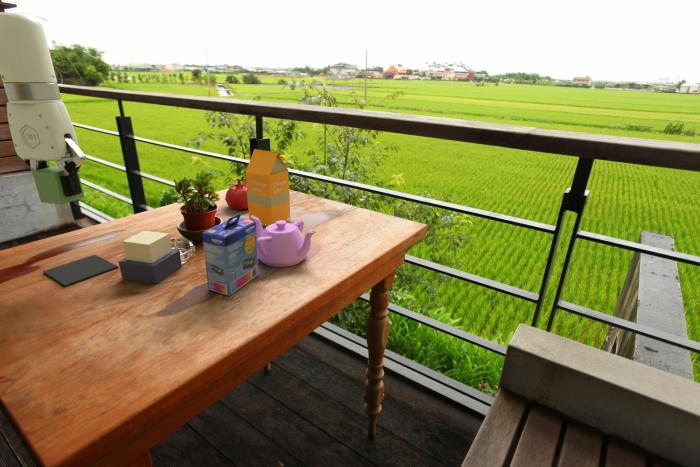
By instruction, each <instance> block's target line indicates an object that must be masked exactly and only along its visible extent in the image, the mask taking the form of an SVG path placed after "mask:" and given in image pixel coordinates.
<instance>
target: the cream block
mask: <svg viewBox="0 0 700 467" xmlns="http://www.w3.org/2000/svg"><path fill="white" fill-rule="evenodd" d="M122 246H123V250H124V256H125V257H126V260H132V261H139V262H146V263H154V262H155V261H157V260H159V259H160V258H162V257H163V256H165V255H167V254H168V253H170V252H172V249H173V248H172V242H171V235H170V233H168V232H159V231H153V230H152V231H150V230H142V231H141V232H139V233H136V234H135V235H132V236H130V237H128V238H126V239H124V240H122Z"/></svg>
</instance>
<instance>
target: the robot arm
mask: <svg viewBox="0 0 700 467" xmlns="http://www.w3.org/2000/svg"><path fill="white" fill-rule="evenodd" d="M46 36H47V35H46V33H45V29H44V25H43V24H42V22H41V21H40V20H39V18H37V17H35V16H32V15H30V14H24V13H17V12H5V11H4V12H3V11H2V12H1V11H0V77H1V81H2V84H3V87H4V91H5V94H6V98H7V100H8V101H6V114H7V122H8V127H9V131H10V136H11V140H12V144H13V147H14V149H15V153H16V155H17V156H18V157H19V158H20V159H21V160H23V161H24V162H25V164H26V165H27V166H28V167H29V168H30V172H31V173H32V171H36V170H40V169H45V168H49V167H50V162H55V163H56V166H58V167H59V169H60V171H61V173H62V175H63V176H60V179H61V183H62V187H63V190H64V194H65V196H66V197H71V196H74V195H77V194H80V193H82V190H81V186H80V182H79V178H78V174H77V173H79V174H80V169H81V167H82V165H83V163H84V162H85V161H86V160H87V156H86V154H85V153H84V152H83V151H82V150H81V148H80V147H79V141H78V138H77V133H76V130H75V128H74V125H73V122H72V119H71V116H70V114H69V111H68V109H67V107H66V104H65V103H64V101H63V99H62V95H61V93H60V92H61V91H60V88H59V85H58V79H57V76H56V72H55V68H54V64H53V60H52V56H51V52H50V48H49V44H48V40H47V37H46ZM65 162H67V164H66V163H65Z"/></svg>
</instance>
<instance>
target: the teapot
mask: <svg viewBox="0 0 700 467" xmlns="http://www.w3.org/2000/svg"><path fill="white" fill-rule="evenodd" d="M251 217H252V218H253V220H254V221H256V236H257V259H258V260H259V261H260V262H262V263H263V264H264V265H265V266H266V265H267V266H268V267H273V268H288V267H293V266H296V265H297V264H299V263H301V262H302V261H303V260H304V259H305V258H306V257H307V255H308V253H309V252H310V251H311V247H312V246H311V245H312V244H311V243H312V241H311V240H312V236H313V235H314V234H315V233H317V230H316V231H315V230H312V231H310V230H309V231H307V232H306V234H305V235H303V232H304V226H305V223H304V220H303V219H297V220H296V221H294V222H293V223H291V222H286V221H283V220H280V221H276V223H275V224H271V225H269V226H265V228H263V225H261V222H260V220H259V219H258V218H257V217H256V216H254V215H251Z"/></svg>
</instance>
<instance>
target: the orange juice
mask: <svg viewBox="0 0 700 467" xmlns="http://www.w3.org/2000/svg"><path fill="white" fill-rule="evenodd" d="M289 178H290V177H289V169H288V167H287V166H286V164H285V162H284V161H283V159H282V156H281V155H280V153H279V152H278V151H273V150H264V149H257V148H254V149H253V152H252V155H251V157H250V160H249V162H248V164H247V167H246V169H245V181H246V182H245V183H246V184H247V199H248V208H249V209H248V220H253V218H252V217H251V215H254V216H256V217H257V218H258V219H259V220H260V222H261V223H262V224H261V225H262V226H264V227H267V226H269V225H271V224H275V223H276V221H280V220H283V221H285V220H286V223H289V222H290V221H291V203H290V201H291V199H290V198H291V197H290V179H289ZM289 218H290V219H289ZM287 219H289V220H287ZM253 221H254V220H253ZM265 224H266V225H265Z"/></svg>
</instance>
